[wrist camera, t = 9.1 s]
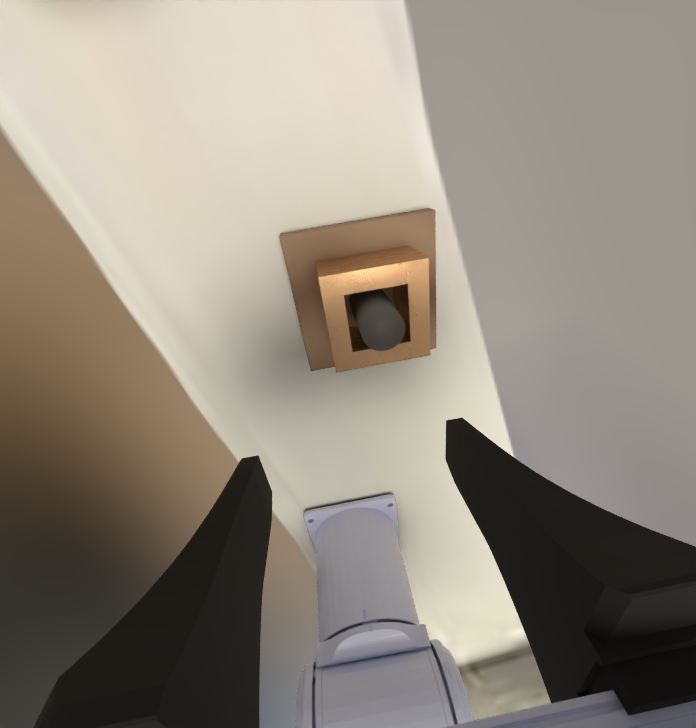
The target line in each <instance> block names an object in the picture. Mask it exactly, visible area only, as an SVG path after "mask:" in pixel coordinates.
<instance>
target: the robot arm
mask: <svg viewBox="0 0 696 728" xmlns="http://www.w3.org/2000/svg"><path fill="white" fill-rule="evenodd" d="M446 462H447V464H448V467H449V469H450V472H451V474H452V477H453V479H454V482H455V484H456V486H457V488H458V490H459V491H460V493H461V495H462V497H463V499H464V501H465V503H466V504H467V506H468V508H469V510H470V512H471V514H472V515H473V517H474V519H475V521H476V523H477V525H478V526H479V528H480V530H481V532H482V534H483V536H484V537H485V539H486V541H487V543H488V545H489V547H490V549H491V551H492V554H493V556H494V558H495V561H496V563H497V565H498V567H499V570H500V572H501V574H502V577H503V579H504V581H505V584H506V586H507V589H508V591H509V593H510V596H511V598H512V601H513V603H514V606H515V608H516V610H517V613H518V616H519V618H520V621H521V623H522V626H523V628H524V631H525V633H526V636H527V638H528V641H529V643H530V646H531V649H532V651H533V654H534V657H535V660H536V662H537V665H538V668H539V670H540V673H541V676H542V678H543V681H544V684H545V687H546V689H547V692H548V695H549V698H550V701H551V704H547V705H542V706H538V707H533V708H529V709H524V710H519V711H515V712H510V713H506V714H501V715H497V716H492V717H488V718H483V719H478V720H474V719H473V715H472V711H471V707H470V704H469V700H468V697H467V693H466V690H465V687H464V684H463V681H462V678H461V675H460V673H459V670H458V667H457V665H456V663H455V660H454V658H453V656H452V655H451V653H450V651H449V650H448V649H447V648H445V647H444V646H443V645H442V643H441V642H440V641H439V640H437V639H434V640H431V641H430V640H429V637H428V633H427V629H426V626H425V624H419V620H418V616H417V612H416V608H415V605H414V601H413V597H412V593H411V589H410V585H409V582H408V578H407V574H406V570H405V566H404V562H403V558H402V555H401V548H400V538H399V529H398V519H397V509H396V500H395V497H394V495H392V494H388V495H383V496H378V497H373V498H368V499H363V500H358V501H352V502H347V503H342V504H337V505H332V506H327V507H322V508H317V509H312V510H308V511H306V512H305V513H304V520H305V523H306V526H307V529H308V532H309V534H310V537H311V540H312V543H313V546H314V549H315V552H316V560H317V588H318V617H319V643H316V645H315V649H316V650H315V651H316V662H309V663H307V664H306V666H305V669H304V671H303V672H302V674H301V676H300V677H299V680H298V685H297V693H296V708H295V709H296V710H295V728H696V547H694V546H692V545H689V544H687V543H684V542H682V541H679V540H676V539H674V538H671V537H668V536H666V535H663V534H660V533H658V532H655V531H652V530H650V529H647V528H645V527H642V526H640V525H638V524H635V523H633V522H631V521H628V520H626V519H624V518H622V517H619V516H617V515H614V514H613V513H611V512H608V511H606V510H604V509H602V508H600V507H598V506H595V505H594V504H592V503H590V502H588V501H586V500H584V499H582V498H580V497H578V496H576V495H574V494H572V493H570V492H568V491H566V490H565V489H563V488H561V487H559V486H558V485H556V484H554V483H553V482H551V481H549V480H547V479H546V478H544V477H542V476H541V475H539V474H538V473H536V472H534V471H533V470H531V469H530V468H528V467H527V466H525V465H524V464H522V463H521V462H519V461H518V460H517V459H515V458H514V457H512V456H511V455H510V454H508V453H507V452H506V451H504V450H503V449H501V448H500V447H499V446H497V445H496V444H495V443H493V442H492V441H491V440H490V439H488V438H487V437H486V436H484V435H483V434H482V433H481V432H479V431H478V430H477V429H476V428H474V427H473V426H472V425H471V424H469V423H468V422H467V421H466V420H464V419H463V418H458V419H452V420H447V421H446ZM271 520H272V490H271V488H270V485H269V483H268V480H267V477H266V475H265V472H264V469H263V467H262V464H261V461H260V459H259V456H253V457H248V458H242V459H241V461H240V462H239V464H238V466H237V467H236V469H235V471H234V473H233V475H232V476H231V478H230V480H229V481H228V483H227V485H226V487H225V488H224V490H223V491H222V493H221V495H220V496H219V498H218V499H217V501H216V503H215V504H214V506H213V507H212V509H211V510H210V512H209V514H208V515H207V517H206V518H205V519H204V521H203V522H202V524H201V525H200V527H199V528H198V530H197V531H196V533H195V534H194V535H193V537H192V538H191V540H190V541H189V542H188V543H187V545H186V546H185V547H184V549H183V550H182V551H181V553H180V554H179V555H178V556H177V558H176V559H175V560H174V562H173V563H172V564H171V565H170V566H169V568H168V569H167V570H166V571H165V572H164V573H163V575H162V576H161V577H160V578H159V579H158V581H157V582H156V583H155V584H154V585H153V586H152V587H151V588H150V590H149V591H148V592H147V593H146V594H145V595H144V596H143V597H142V598H141V600H140V601H139V602H138V603H137V604H136V605H135V606H134V607H133V608H132V609H131V610H130V611H129V612H128V613H127V614H126V615H125V616H124V617H123V618H122V619H121V620H120V621H119V622H118V623H117V624H116V625H115V626H114V627H113V628H112V629H111V630H110V631H109V632H108V633H107V634H106V635H105V636H104V637H103V638H102V639H101V640H100V641H99V642H97V643H96V644H95V645H94V646H93V647H92V648H91V649H90V650H89V651H88V652H87V653H85V654H84V655H83V656H82V657H81V658H80V659H79V660H78V661H77V662H76V663H75V664H73V666H71V667H70V668H69V669H68V670H67V671H66V672H65V673H63V674H62V675H61V676H60V677H59V678H58V680H57V682H56V684H55V686H54V687H53V689H52V691H51V693H50V695H49V697H48V699H47V701H46V703H45V705H44V707H43V709H42V711H41V713H40V715H39V717H38V719H37V722H36V723H35V726H34V728H259V664H260V662H259V661H260V629H261V606H262V605H261V604H262V590H263V581H264V574H265V566H266V559H267V551H268V544H269V537H270V529H271Z"/></svg>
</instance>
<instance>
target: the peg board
mask: <svg viewBox="0 0 696 728" xmlns="http://www.w3.org/2000/svg"><path fill="white" fill-rule="evenodd" d="M279 237H280V241H281V246H282V250H283V254H284V258H285V263H286V267H287V271H288V275H289V280H290V284H291V288H292V292H293V297H294V301H295V305H296V309H297V314H298V318H299V322H300V326H301V331H302V335H303V339H304V343H305V348H306V352H307V356H308V360H309V365H310V369H311V371H314V370H319V369H324V368H330V367H335V364H334V358H333V353H332V348H331V343H330V337H329V332H328V327H327V322H326V316H325V311H324V306H323V300H322V295H321V290H320V285H319V279H318V273H317V267H316V261H320V260H326V259H331V258H337V257H343V256H349V255H354V254H360V253H366V252H372V251H377V250H383V249H389V248H395V247H400V246H406V245H410V246H411V247H413V248H414V249H416V250H417V251H419V252H420V253H422V254H423V255H425V256H426V257H428V258H429V303H430V349H433V348H436V258H435V210H433V209H429V208H428V209H422V210H416V211H411V212H405V213H399V214H393V215H387V216H381V217H375V218H369V219H364V220H358V221H352V222H346V223H340V224H334V225H328V226H323V227H317V228H311V229H305V230H299V231H293V232H287V233H281V234H280V236H279ZM344 300H345V306H346V313H347V319H348V326H354V325H358V328H359V330H360V333H361V336H362V339H363V341H364V343H365V344H366V345H367V346H368V347H369V348H371V349H373V350H377V351H386V350H389V349H392V348H394V347H395V346H397V345H398V344H399V343H400V342H401V340H402V339H403V337H404V334H405V323H404V320H403V318H402V317H401V316H400V314H399V313H398V311H397V310H396V308H395V305H394V291H393V287H387V288H382V289H376V290H370V291H365V292H359V293H353V294H348V295H344Z"/></svg>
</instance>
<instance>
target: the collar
mask: <svg viewBox="0 0 696 728" xmlns="http://www.w3.org/2000/svg"><path fill="white" fill-rule="evenodd" d="M316 267H317V273H318V279H319V285H320V290H321V295H322V300H323V306H324V311H325V316H326V322H327V327H328V332H329V337H330V343H331V348H332V353H333V358H334V364H335V369H336V372H341V371H347V370H352V369H358V368H363V367H369V366H374V365H379V364H385V363H390V362H396V361H401V360H406V359H412V358H417V357H423V356H428V355H430V303H429V258H428V257H426V256H425V255H423V254H422V253H420V252H419V251H417V250H416V249H414V248H413V247H411V246H410V245H406V246H400V247H395V248H389V249H383V250H377V251H372V252H366V253H360V254H354V255H349V256H343V257H337V258H331V259H326V260H320V261H316ZM387 287H393V291H394V305H395V308H396V310H397V311H398V313H399V314H400V316H401V317H402V318H403V320H404V323H405V334H404V337H403V339H402V340H401V342H400V343H399V344H398V345H397V346H395V347H394V348H392V349H389V350H386V351H377V350H373V349H371V348H369V347H368V346H367V345H366V344H365V343H364V341H363V339H362V336H361V333H360V330H359V328H358V325H354V326H348V319H347V313H346V306H345V300H344V295H348V294H353V293H359V292H365V291H370V290H376V289H382V288H387Z"/></svg>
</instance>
